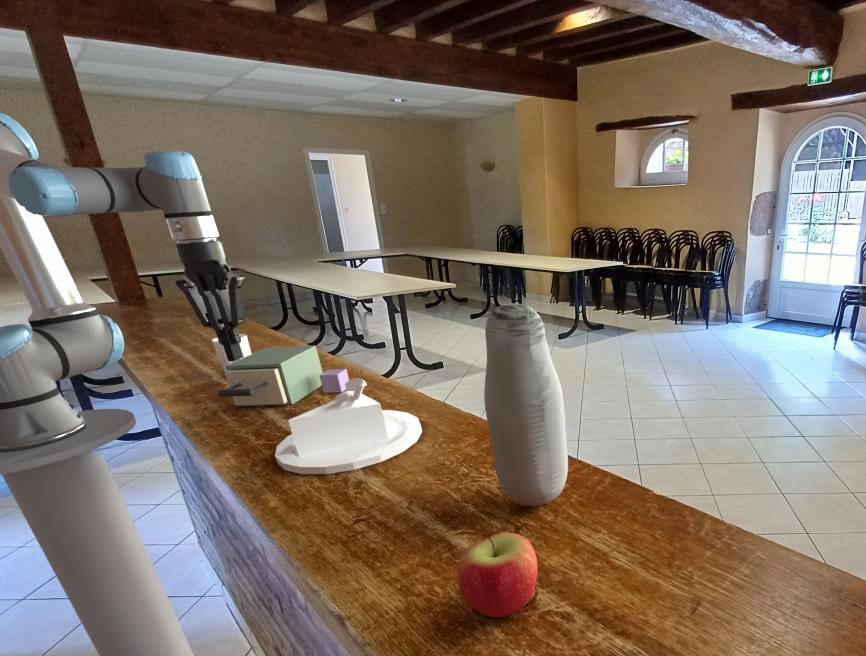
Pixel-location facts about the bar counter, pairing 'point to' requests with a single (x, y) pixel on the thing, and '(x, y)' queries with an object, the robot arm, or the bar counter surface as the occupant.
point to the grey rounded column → (524, 407)
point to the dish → (346, 434)
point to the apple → (498, 574)
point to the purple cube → (334, 380)
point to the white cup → (222, 354)
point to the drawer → (255, 386)
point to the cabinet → (287, 369)
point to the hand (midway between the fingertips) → (236, 359)
